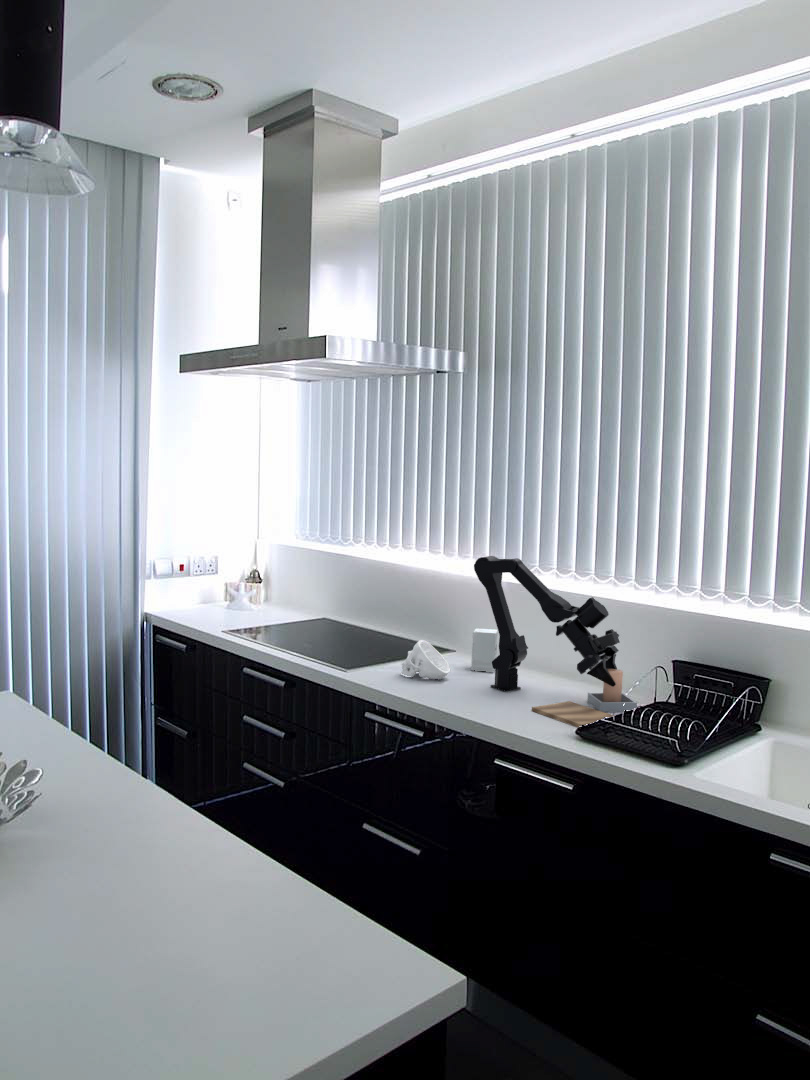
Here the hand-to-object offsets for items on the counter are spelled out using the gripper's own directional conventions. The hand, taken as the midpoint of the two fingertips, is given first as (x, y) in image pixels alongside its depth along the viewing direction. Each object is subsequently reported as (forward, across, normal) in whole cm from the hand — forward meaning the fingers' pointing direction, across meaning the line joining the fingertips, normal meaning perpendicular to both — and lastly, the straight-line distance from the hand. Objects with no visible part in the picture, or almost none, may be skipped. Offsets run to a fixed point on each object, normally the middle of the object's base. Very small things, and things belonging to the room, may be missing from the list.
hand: (617, 683), depth 251 cm
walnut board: (0, -15, +9) cm, 18 cm away
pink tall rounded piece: (+4, 0, +6) cm, 7 cm away
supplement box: (-30, +18, +40) cm, 53 cm away
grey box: (+4, 0, +6) cm, 7 cm away
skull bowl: (-36, -3, +46) cm, 59 cm away
